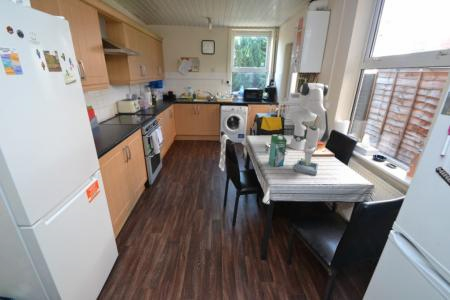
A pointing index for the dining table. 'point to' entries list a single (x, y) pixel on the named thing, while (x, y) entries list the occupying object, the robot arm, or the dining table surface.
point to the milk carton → (277, 150)
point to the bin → (304, 169)
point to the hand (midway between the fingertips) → (307, 163)
